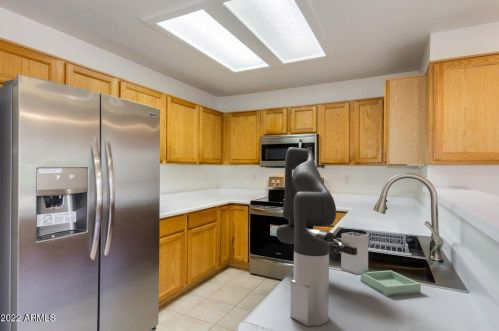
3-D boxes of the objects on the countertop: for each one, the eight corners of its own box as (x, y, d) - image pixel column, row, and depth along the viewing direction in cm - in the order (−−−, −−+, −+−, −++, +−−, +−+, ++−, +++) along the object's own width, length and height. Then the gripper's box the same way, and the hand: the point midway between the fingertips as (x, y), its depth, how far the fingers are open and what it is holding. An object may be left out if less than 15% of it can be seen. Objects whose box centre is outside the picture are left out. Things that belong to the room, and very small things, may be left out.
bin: (387, 296, 86) (387, 287, 86) (360, 281, 99) (360, 272, 99) (420, 293, 89) (420, 283, 89) (390, 278, 102) (390, 270, 102)
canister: (357, 275, 86) (357, 237, 87) (341, 270, 91) (341, 233, 91) (367, 272, 89) (368, 235, 90) (351, 267, 94) (351, 232, 95)
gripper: (307, 232, 98) (348, 241, 84) (332, 228, 106) (373, 236, 93) (306, 253, 98) (348, 266, 84) (331, 248, 106) (373, 259, 93)
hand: (361, 250), depth 89 cm, fingers closed on canister, 6 cm apart
